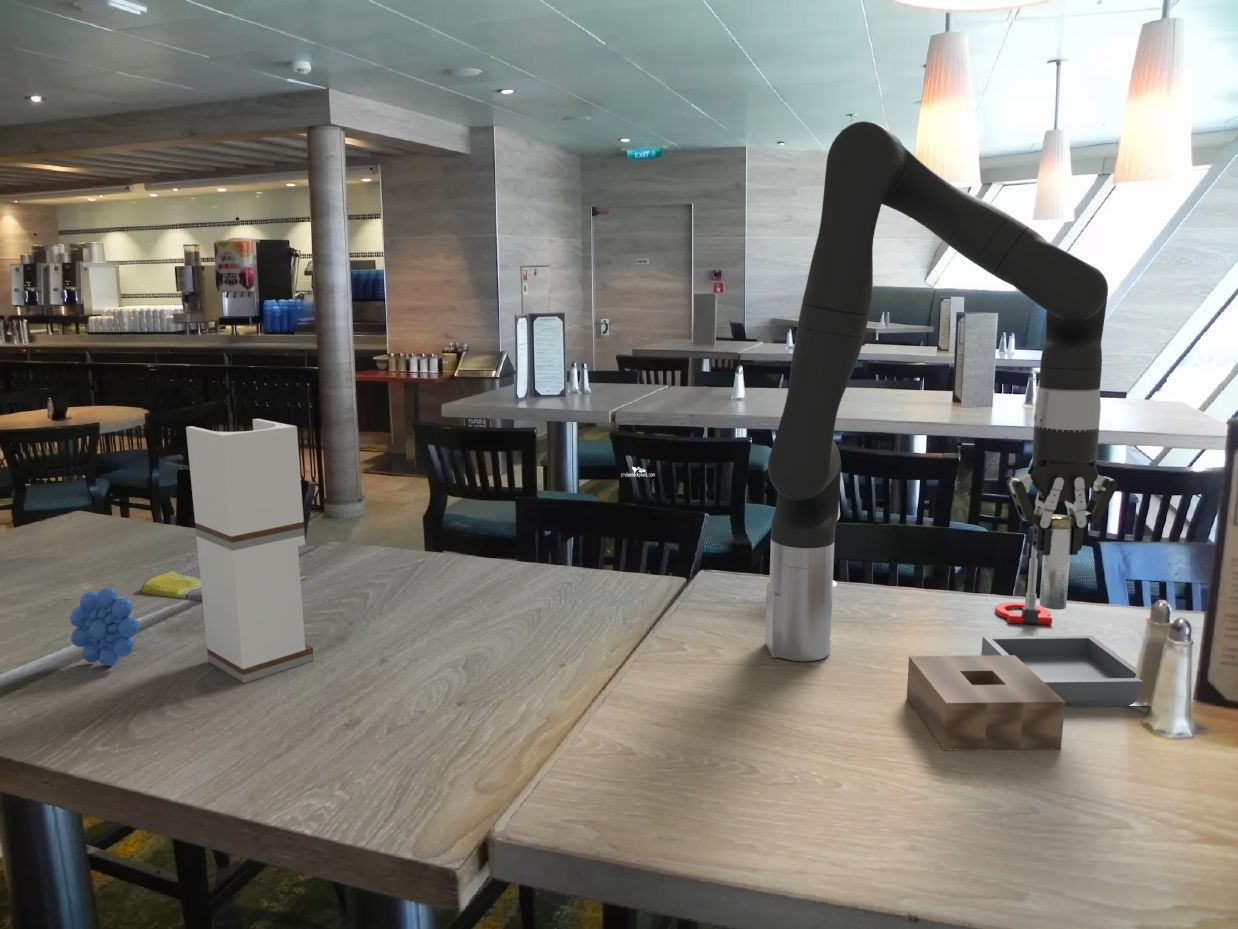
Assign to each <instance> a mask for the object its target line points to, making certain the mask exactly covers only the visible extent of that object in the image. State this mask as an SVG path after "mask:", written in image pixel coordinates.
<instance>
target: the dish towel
mask: <svg viewBox="0 0 1238 929" xmlns="http://www.w3.org/2000/svg"><path fill="white" fill-rule="evenodd" d="M299 569H300V574H301V573H302V572H303V570H302V568H301V567H299ZM305 579H306V576H305V575H300V582H301V581H303V580H305ZM140 591H141V592H142V594H145V595H152V596H158V597H167V598H175V599H183V600H192V601H202V590H201V580H200V569H199V559H198V558H197V559H195V560H193V561H190V562H189V563H185V564H183V565H180V566H178V567H176V568H174V569H172V570H170V571H169V572H166V573H163V574H160V575H156V576H154V577H152V578H150V579H149V580H146V581H145V582H144V583H143V584H142V586H141V588H140ZM202 602H203V601H202Z"/></svg>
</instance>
